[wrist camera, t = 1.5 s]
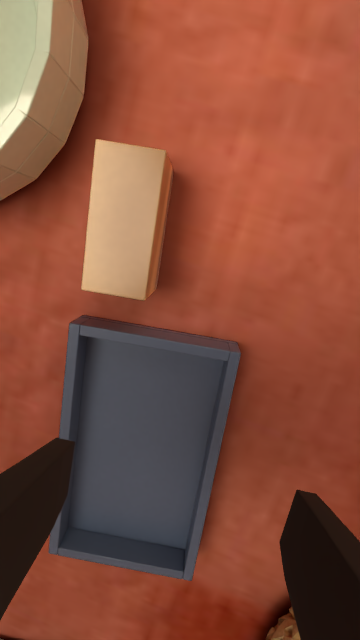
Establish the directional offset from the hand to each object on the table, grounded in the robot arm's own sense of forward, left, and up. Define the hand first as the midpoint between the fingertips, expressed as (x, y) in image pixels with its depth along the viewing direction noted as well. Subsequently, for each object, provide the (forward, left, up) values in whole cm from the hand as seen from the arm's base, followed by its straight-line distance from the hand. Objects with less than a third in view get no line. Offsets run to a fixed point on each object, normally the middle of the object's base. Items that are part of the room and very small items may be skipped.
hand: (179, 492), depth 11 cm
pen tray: (-2, -5, -10) cm, 11 cm away
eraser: (-4, +8, -10) cm, 13 cm away
